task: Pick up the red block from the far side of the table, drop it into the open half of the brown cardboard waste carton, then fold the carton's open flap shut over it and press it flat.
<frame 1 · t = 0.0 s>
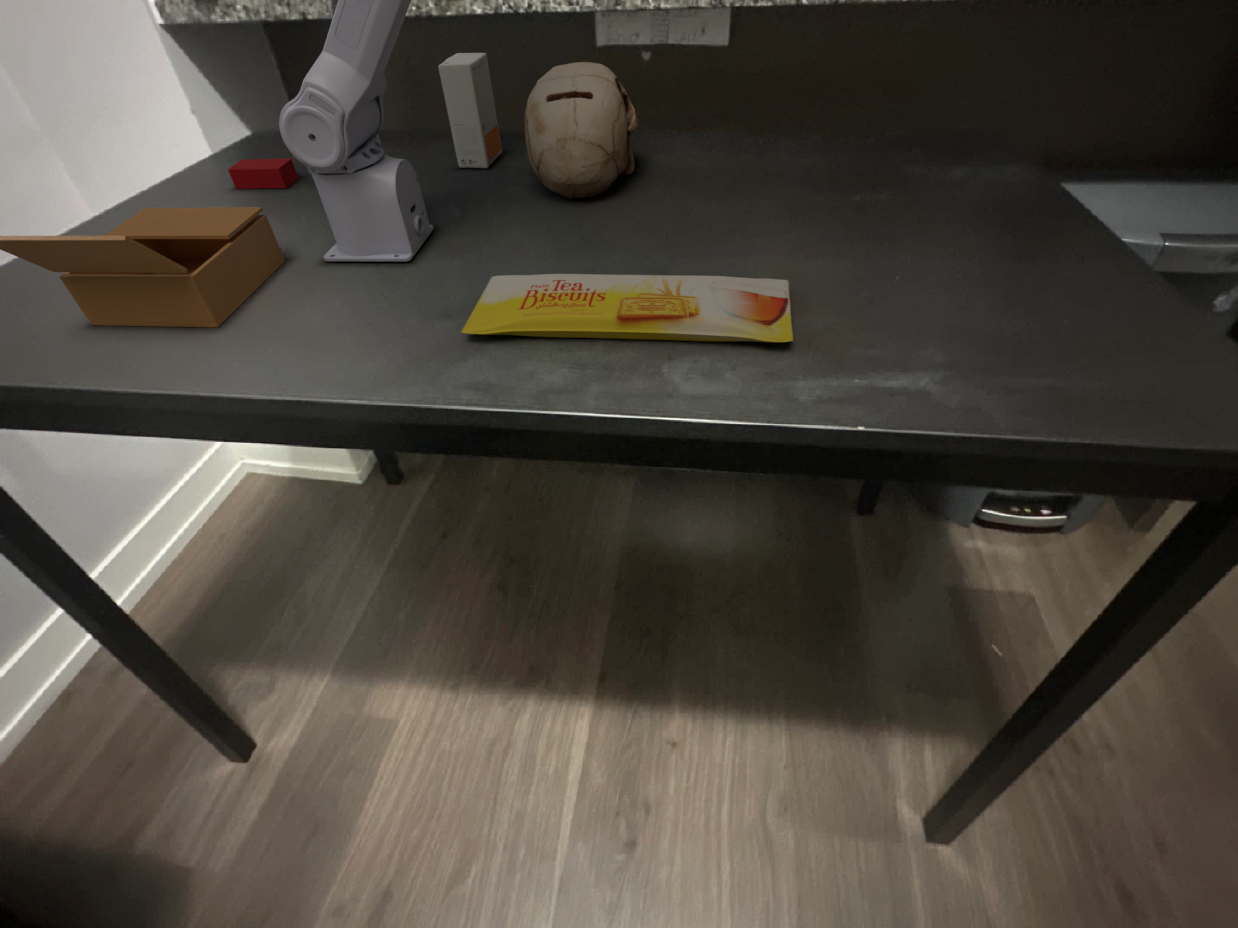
coin bank: (585, 177, 84), on the table
waste carton: (194, 291, 68), on the table
cosmetic box: (482, 162, 91), on the table
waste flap: (87, 255, 56), point 8 cm above the table, hinge at 130.0°
red block: (267, 183, 89), on the table
food package: (629, 319, 60), on the table
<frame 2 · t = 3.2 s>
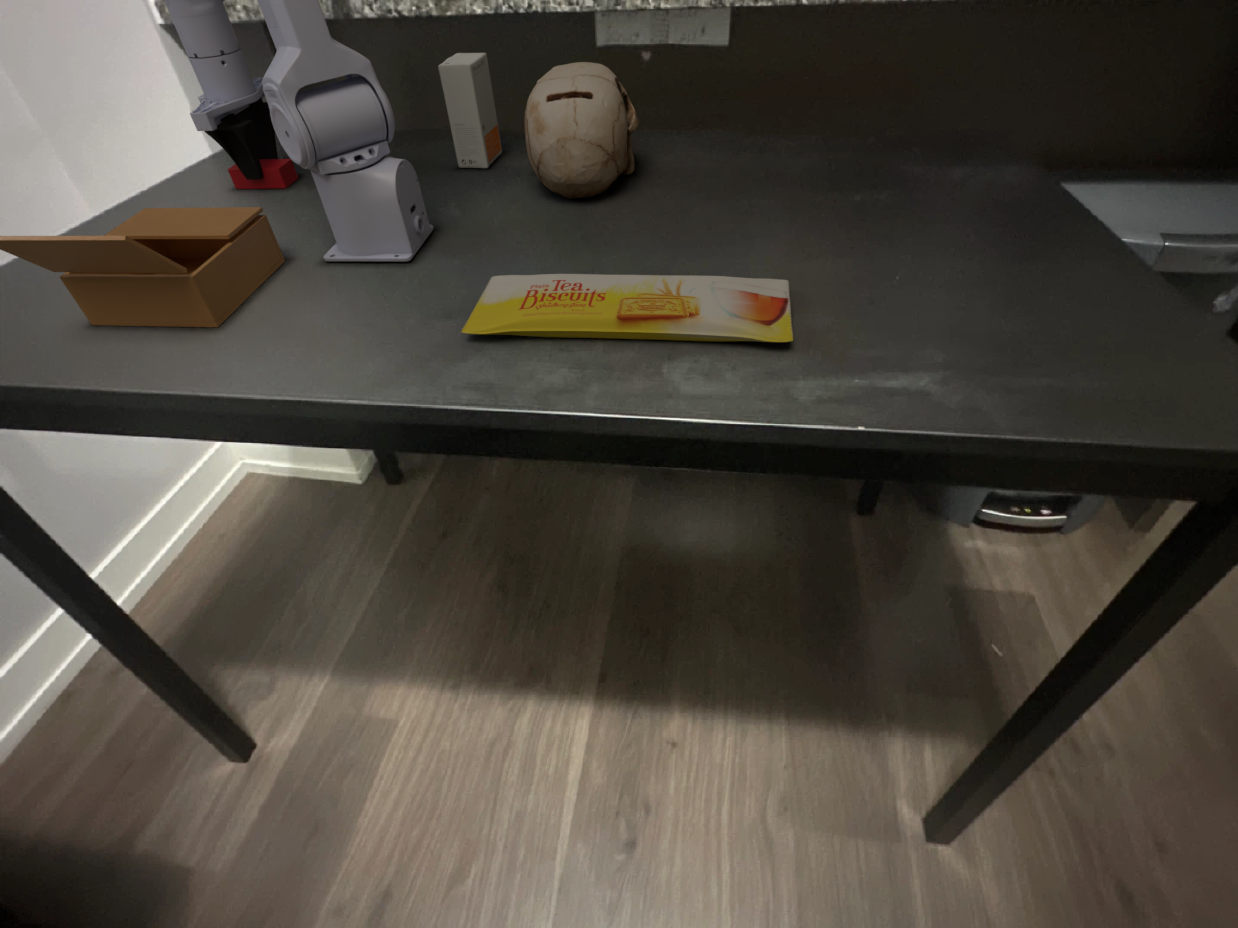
hand: (263, 172, 88), 1 cm above the table, tool pointing down, fingers closed on red block, 3 cm apart
red block: (267, 183, 89), on the table, touching gripper
everything else where it was.
when the fingers open (5 cm above the table, at t = 9.6 s): red block stays where it is, resting on waste carton.
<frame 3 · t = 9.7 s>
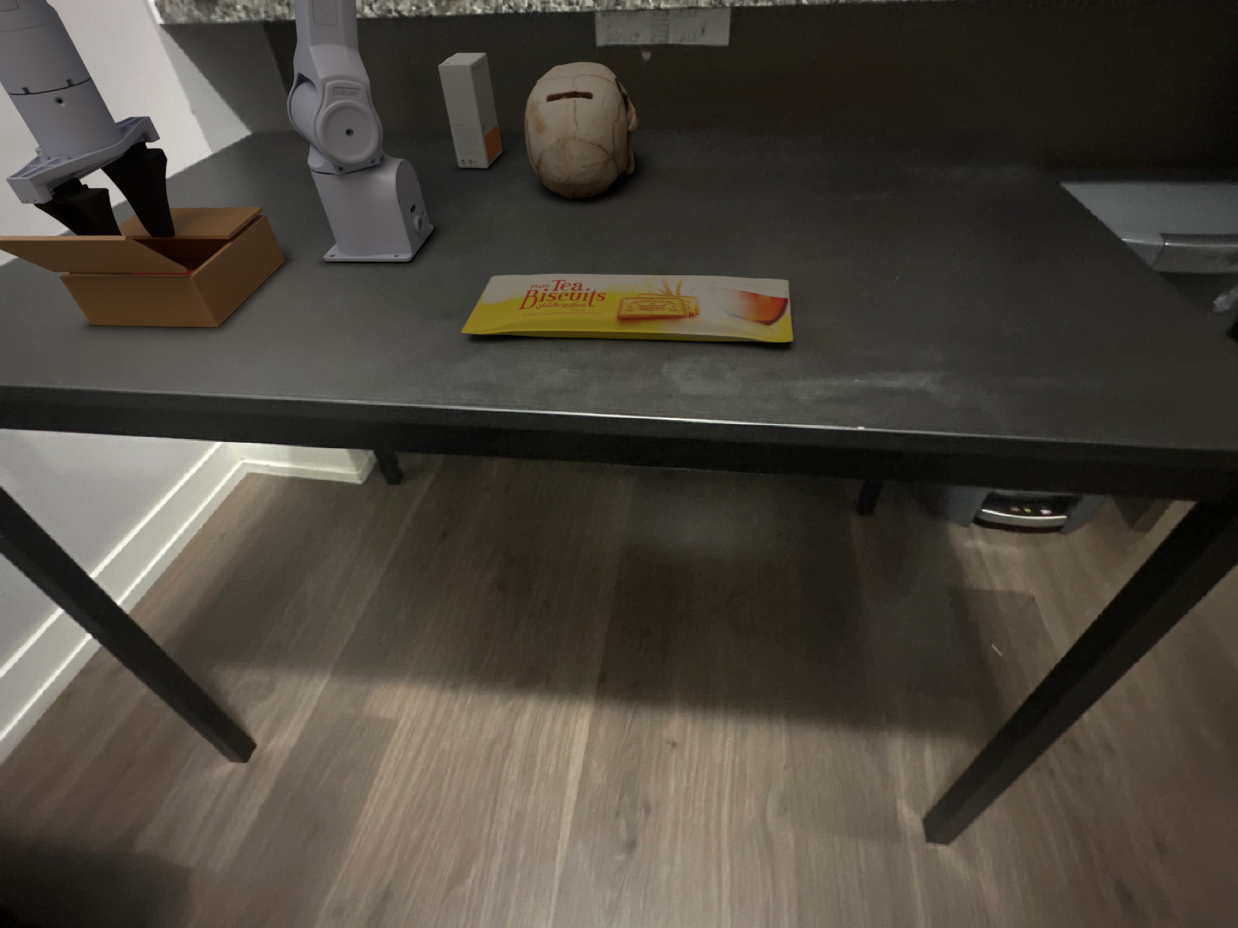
hand: (144, 250, 62), 6 cm above the table, tool pointing down, fingers open, 5 cm apart
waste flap: (87, 255, 56), point 8 cm above the table, hinge at 130.1°, touching gripper
red block: (172, 302, 65), resting on waste carton
everything else where it was.
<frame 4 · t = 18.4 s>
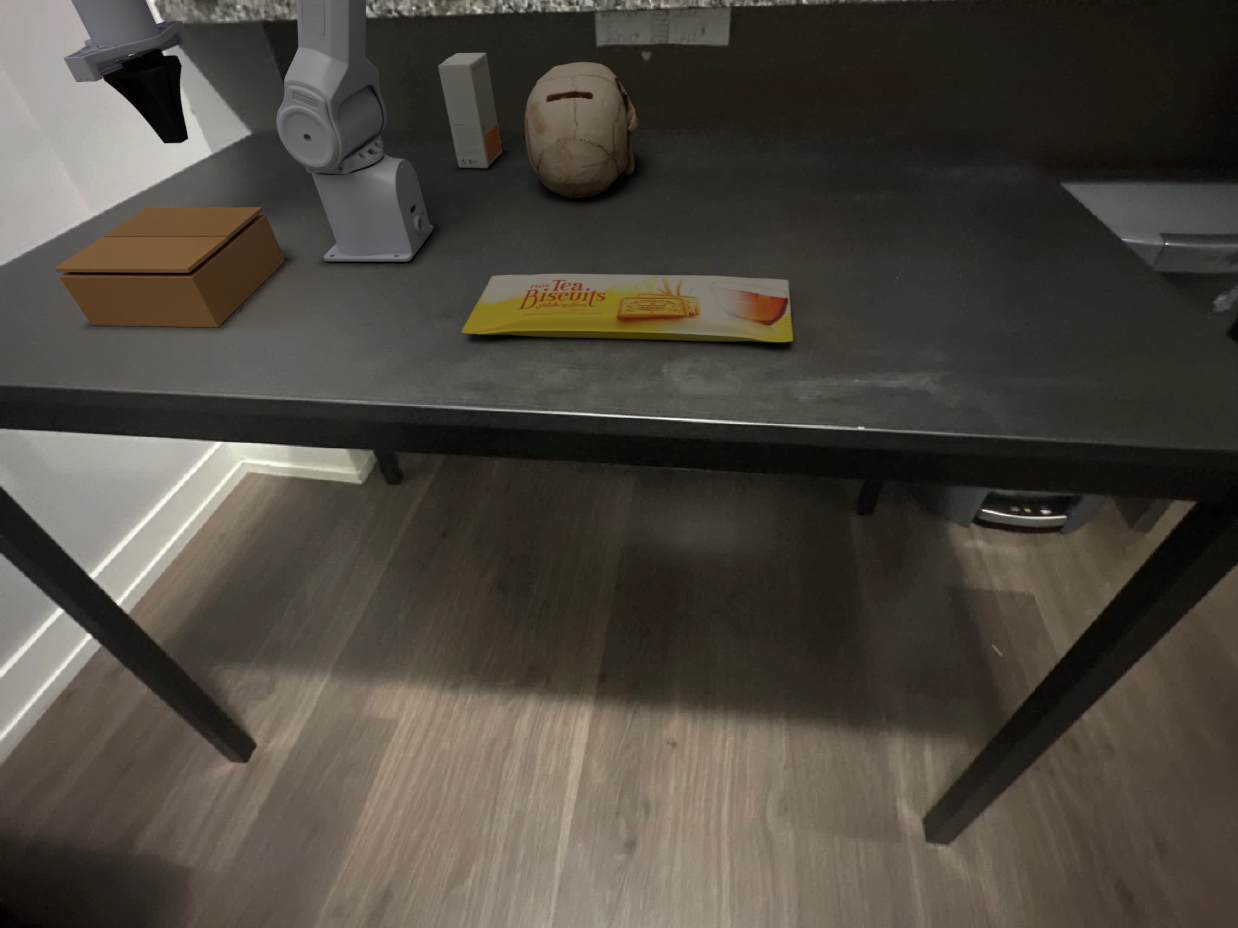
hand: (176, 141, 70), 10 cm above the table, tool pointing down, fingers closed
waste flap: (143, 253, 62), point 6 cm above the table, hinge at -0.6°
everything else where it was.
at the end: red block inside the target area in the waste carton (3.1 cm from its centre), point 0.5 cm above the waste carton's base; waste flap at -1° (first picture: +130°) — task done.
